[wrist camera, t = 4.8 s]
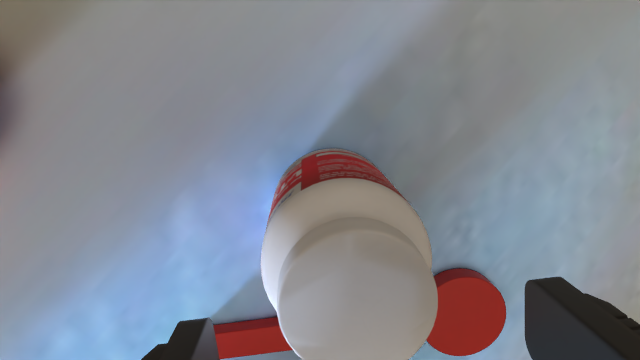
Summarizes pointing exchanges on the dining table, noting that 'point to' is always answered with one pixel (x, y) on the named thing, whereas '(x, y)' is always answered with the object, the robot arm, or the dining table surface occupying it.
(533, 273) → the dining table surface
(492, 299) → the spoon
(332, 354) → the pill bottle
